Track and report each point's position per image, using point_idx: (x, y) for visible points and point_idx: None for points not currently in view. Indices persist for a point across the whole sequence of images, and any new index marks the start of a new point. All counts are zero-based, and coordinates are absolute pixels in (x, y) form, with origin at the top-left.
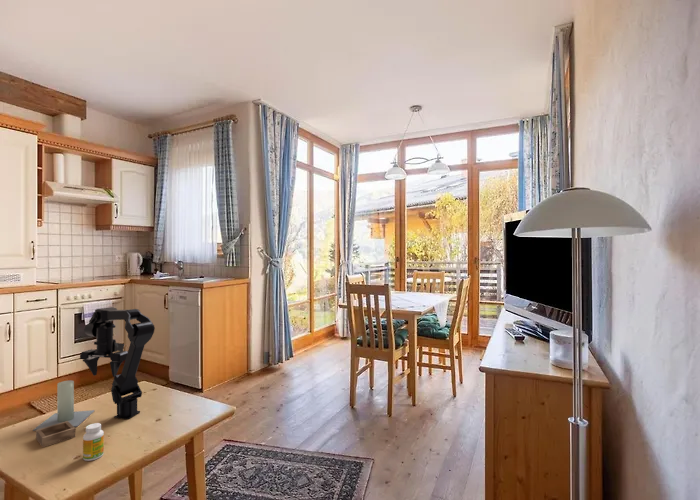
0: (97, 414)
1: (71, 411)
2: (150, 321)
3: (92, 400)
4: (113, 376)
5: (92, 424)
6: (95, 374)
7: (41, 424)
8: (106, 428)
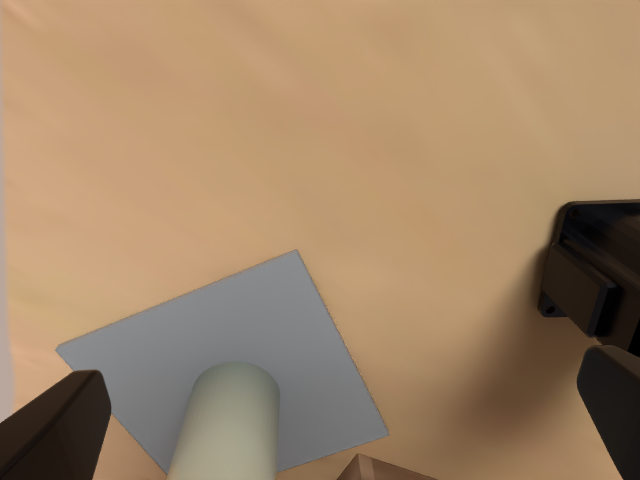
0: (370, 287)
1: (277, 438)
2: None
3: (32, 48)
4: (592, 394)
5: None
6: (100, 403)
7: (164, 461)
8: (570, 409)
